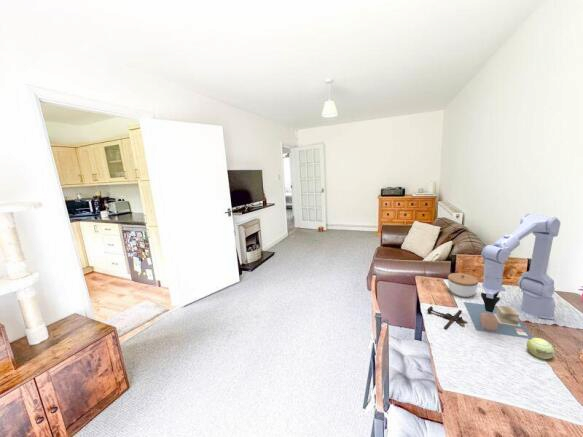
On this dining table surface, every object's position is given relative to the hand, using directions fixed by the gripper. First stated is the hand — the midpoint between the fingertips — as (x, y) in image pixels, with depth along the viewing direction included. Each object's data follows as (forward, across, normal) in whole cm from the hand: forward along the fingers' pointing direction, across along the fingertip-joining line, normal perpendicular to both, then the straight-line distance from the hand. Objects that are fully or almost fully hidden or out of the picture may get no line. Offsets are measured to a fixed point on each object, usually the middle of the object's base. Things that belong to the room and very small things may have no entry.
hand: (490, 306), depth 97 cm
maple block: (+9, +9, -5) cm, 14 cm away
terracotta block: (+9, 0, 0) cm, 9 cm away
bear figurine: (+10, -3, +14) cm, 18 cm away
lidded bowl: (+10, +24, +13) cm, 29 cm away
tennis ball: (+10, -8, -14) cm, 19 cm away
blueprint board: (+9, +8, -1) cm, 12 cm away
